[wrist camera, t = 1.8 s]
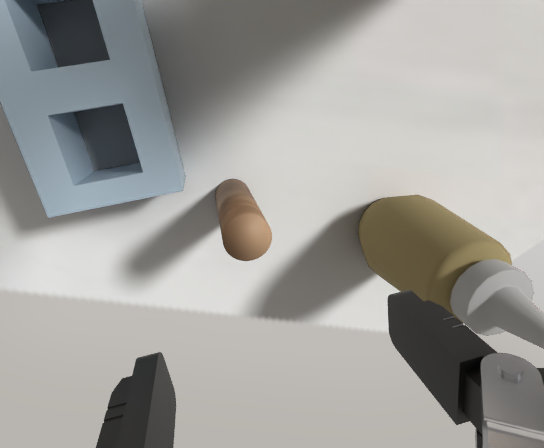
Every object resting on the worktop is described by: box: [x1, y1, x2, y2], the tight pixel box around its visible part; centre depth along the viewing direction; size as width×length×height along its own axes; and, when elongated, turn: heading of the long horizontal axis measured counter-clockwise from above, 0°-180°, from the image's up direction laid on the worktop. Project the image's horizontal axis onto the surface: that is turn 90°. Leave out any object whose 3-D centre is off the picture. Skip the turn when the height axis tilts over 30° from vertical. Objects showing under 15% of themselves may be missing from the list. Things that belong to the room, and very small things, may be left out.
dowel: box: [215, 179, 272, 261], centre depth 26 cm, size 3×3×10 cm
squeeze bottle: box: [358, 195, 544, 349], centre depth 26 cm, size 8×8×18 cm
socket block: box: [0, 0, 185, 218], centre depth 24 cm, size 9×15×5 cm, turn 9°
